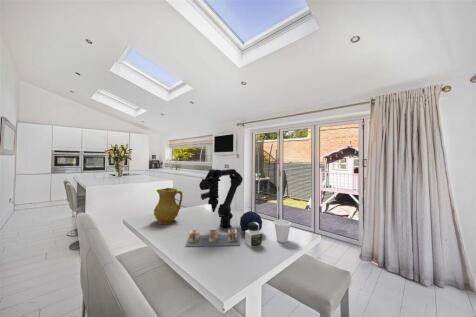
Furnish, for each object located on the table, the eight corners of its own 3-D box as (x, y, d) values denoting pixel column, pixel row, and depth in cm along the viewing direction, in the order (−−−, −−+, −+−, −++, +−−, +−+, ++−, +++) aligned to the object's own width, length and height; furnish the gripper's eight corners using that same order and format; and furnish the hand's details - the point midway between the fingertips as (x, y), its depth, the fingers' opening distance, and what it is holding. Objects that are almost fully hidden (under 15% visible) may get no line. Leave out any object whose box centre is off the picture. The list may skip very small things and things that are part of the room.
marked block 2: (236, 237, 116) (236, 229, 116) (236, 241, 111) (237, 232, 111) (227, 237, 115) (228, 229, 115) (228, 241, 110) (228, 232, 110)
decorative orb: (267, 223, 128) (254, 204, 131) (265, 231, 114) (250, 210, 116) (251, 234, 131) (238, 215, 134) (246, 243, 117) (232, 222, 119)
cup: (291, 238, 117) (291, 220, 117) (290, 245, 108) (290, 226, 108) (274, 236, 120) (275, 218, 120) (272, 242, 111) (272, 224, 111)
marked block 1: (199, 238, 114) (199, 229, 114) (198, 242, 109) (198, 233, 109) (190, 238, 113) (190, 229, 113) (189, 242, 108) (189, 233, 108)
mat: (237, 235, 120) (237, 234, 120) (240, 245, 106) (240, 244, 106) (189, 236, 118) (189, 235, 118) (185, 246, 104) (185, 245, 104)
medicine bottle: (251, 248, 104) (251, 226, 104) (244, 242, 110) (245, 222, 110) (261, 245, 107) (262, 224, 107) (255, 240, 114) (255, 220, 113)
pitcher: (161, 216, 153) (162, 185, 152) (183, 219, 150) (185, 188, 149) (148, 224, 136) (149, 190, 135) (172, 228, 133) (174, 192, 132)
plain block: (217, 237, 115) (218, 229, 115) (217, 241, 110) (217, 232, 110) (209, 238, 114) (209, 229, 114) (208, 241, 109) (209, 233, 109)
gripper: (202, 186, 134) (202, 208, 134) (200, 190, 116) (199, 216, 116) (218, 186, 135) (218, 208, 135) (218, 190, 117) (217, 216, 117)
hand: (213, 211), depth 126 cm, fingers closed
